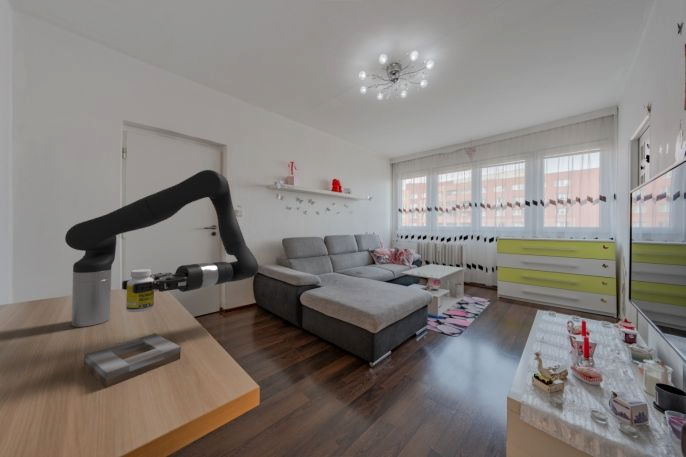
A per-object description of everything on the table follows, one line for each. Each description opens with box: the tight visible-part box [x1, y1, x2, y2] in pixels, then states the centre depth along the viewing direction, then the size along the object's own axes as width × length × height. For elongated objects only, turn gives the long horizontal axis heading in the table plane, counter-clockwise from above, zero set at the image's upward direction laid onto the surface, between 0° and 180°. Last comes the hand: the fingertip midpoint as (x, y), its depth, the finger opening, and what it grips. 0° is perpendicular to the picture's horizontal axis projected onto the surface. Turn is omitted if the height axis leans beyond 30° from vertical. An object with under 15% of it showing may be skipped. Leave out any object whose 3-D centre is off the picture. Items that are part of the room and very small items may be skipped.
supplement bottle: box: [125, 268, 155, 313], centre depth 64 cm, size 5×5×10 cm
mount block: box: [83, 333, 182, 388], centre depth 61 cm, size 14×14×3 cm
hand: (128, 287), depth 62 cm, fingers closed on supplement bottle, 5 cm apart
